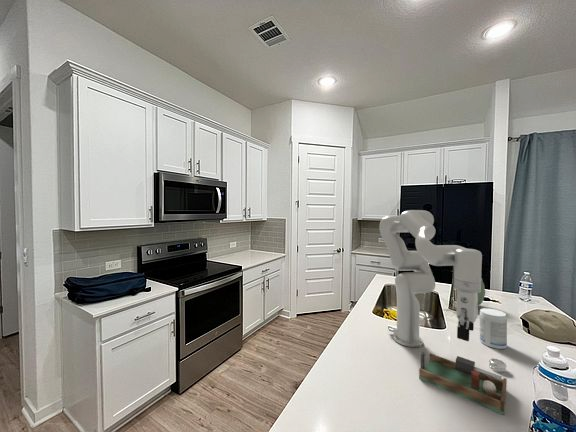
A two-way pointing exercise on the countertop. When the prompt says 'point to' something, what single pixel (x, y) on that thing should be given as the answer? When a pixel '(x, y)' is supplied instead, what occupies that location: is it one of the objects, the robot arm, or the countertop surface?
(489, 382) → the ball
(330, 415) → the countertop surface
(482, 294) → the cabbage
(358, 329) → the countertop surface
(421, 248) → the robot arm
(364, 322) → the countertop surface
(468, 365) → the multicoloured piece
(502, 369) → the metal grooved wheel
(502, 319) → the supplement tub
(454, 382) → the pitch
